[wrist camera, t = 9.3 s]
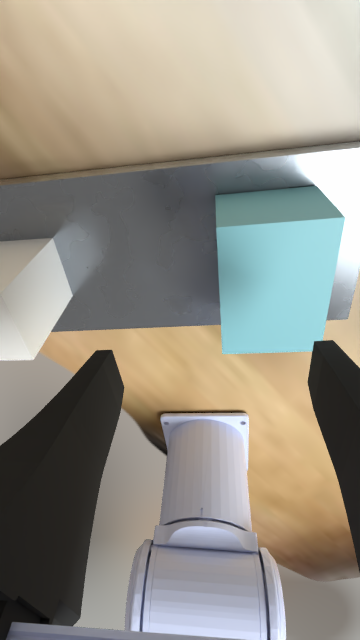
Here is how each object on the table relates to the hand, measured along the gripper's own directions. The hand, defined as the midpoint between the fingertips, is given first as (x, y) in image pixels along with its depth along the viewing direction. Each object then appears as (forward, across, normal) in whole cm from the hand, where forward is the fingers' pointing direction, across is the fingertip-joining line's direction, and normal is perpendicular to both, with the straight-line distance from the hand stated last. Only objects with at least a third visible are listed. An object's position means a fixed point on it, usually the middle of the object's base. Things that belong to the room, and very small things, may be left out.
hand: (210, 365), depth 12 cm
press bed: (+10, +5, 0) cm, 11 cm away
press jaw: (+9, -3, 0) cm, 9 cm away
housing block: (+9, +11, 0) cm, 14 cm away
